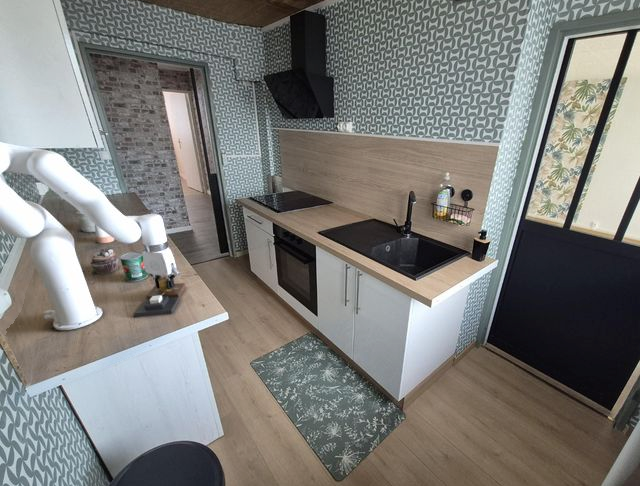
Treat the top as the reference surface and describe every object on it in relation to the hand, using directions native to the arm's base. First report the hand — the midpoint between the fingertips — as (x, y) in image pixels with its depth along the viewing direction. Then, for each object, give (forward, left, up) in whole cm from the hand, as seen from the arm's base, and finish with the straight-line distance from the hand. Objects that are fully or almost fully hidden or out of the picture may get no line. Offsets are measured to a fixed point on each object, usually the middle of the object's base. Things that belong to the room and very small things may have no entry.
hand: (165, 287), depth 119 cm
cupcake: (-34, +27, -4) cm, 44 cm away
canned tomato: (-18, +17, -4) cm, 25 cm away
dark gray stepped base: (0, -10, -4) cm, 11 cm away
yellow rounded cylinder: (0, 0, -1) cm, 1 cm away
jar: (-67, +89, -4) cm, 111 cm away
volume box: (0, 0, -4) cm, 4 cm away
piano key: (0, -10, -1) cm, 10 cm away
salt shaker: (-52, +67, -4) cm, 84 cm away
